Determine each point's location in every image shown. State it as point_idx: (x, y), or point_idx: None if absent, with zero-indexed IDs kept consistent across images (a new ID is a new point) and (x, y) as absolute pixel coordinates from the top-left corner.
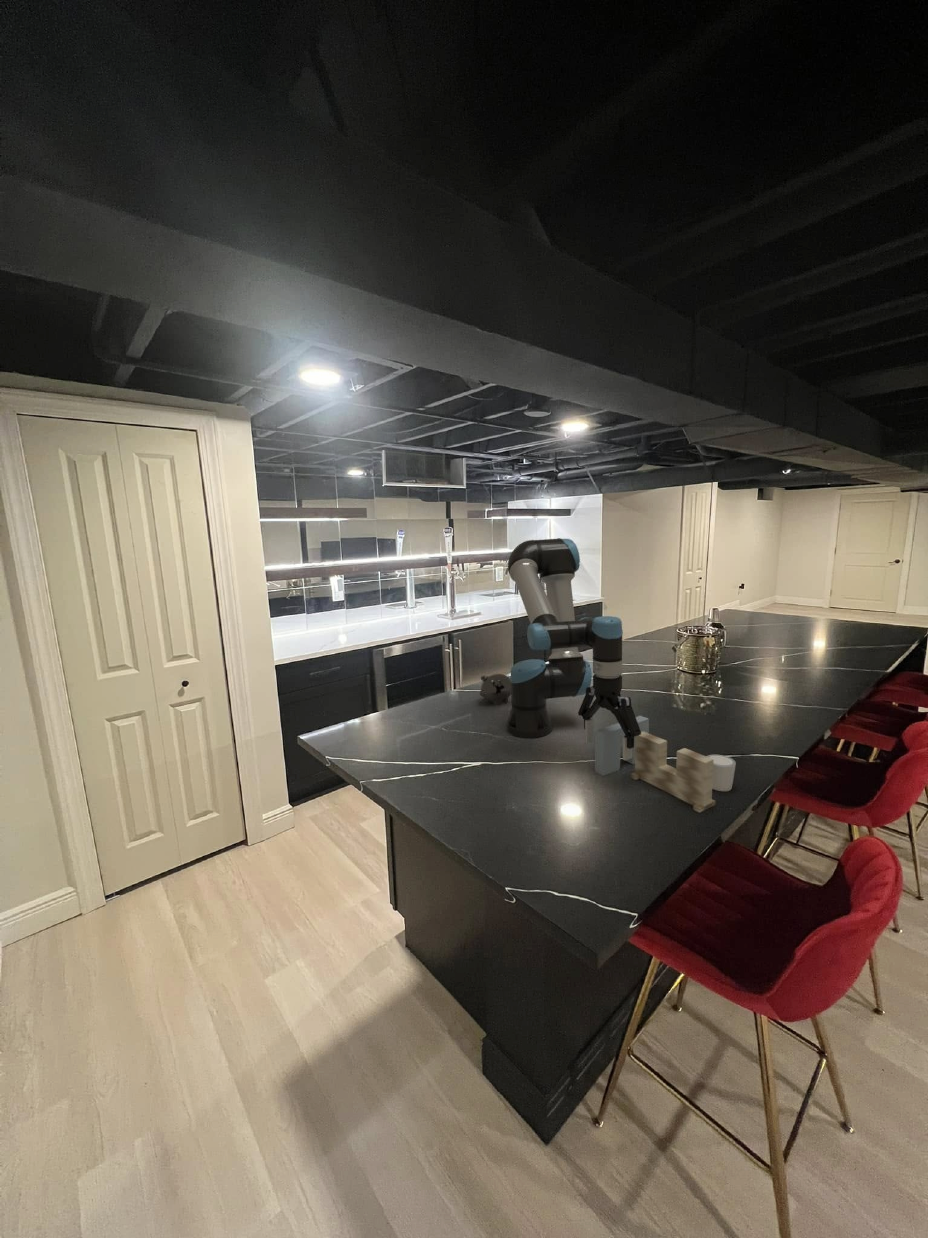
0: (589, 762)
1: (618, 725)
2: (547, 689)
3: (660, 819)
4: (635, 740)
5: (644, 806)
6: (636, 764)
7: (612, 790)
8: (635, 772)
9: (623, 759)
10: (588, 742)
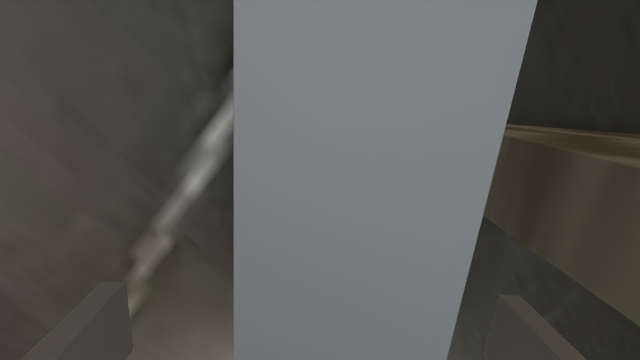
0: (185, 236)
1: (328, 339)
2: None
3: (631, 341)
4: (620, 310)
5: (563, 324)
6: None
7: None
8: None
9: (489, 357)
10: (129, 338)
